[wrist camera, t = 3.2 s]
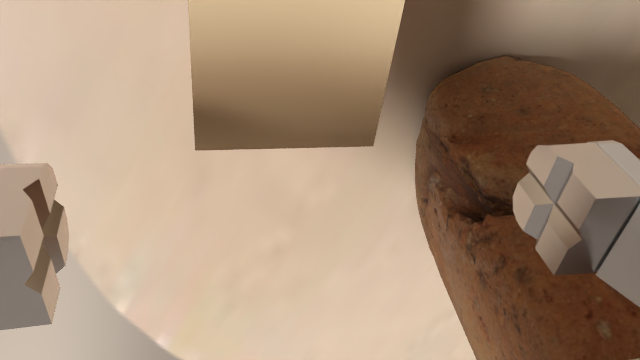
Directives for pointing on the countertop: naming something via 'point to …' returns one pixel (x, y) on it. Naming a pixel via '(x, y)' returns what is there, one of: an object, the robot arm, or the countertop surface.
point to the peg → (290, 71)
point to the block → (498, 217)
